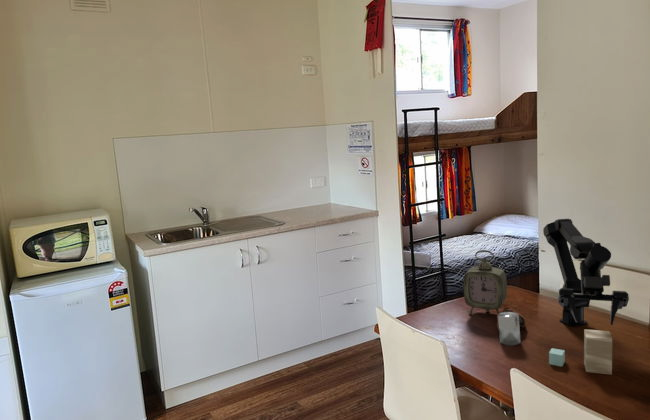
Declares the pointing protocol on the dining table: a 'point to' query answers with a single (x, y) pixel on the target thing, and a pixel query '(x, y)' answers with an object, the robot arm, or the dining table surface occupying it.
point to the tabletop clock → (485, 286)
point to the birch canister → (598, 351)
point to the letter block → (556, 357)
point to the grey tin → (509, 328)
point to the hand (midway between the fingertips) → (594, 323)
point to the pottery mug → (521, 319)
